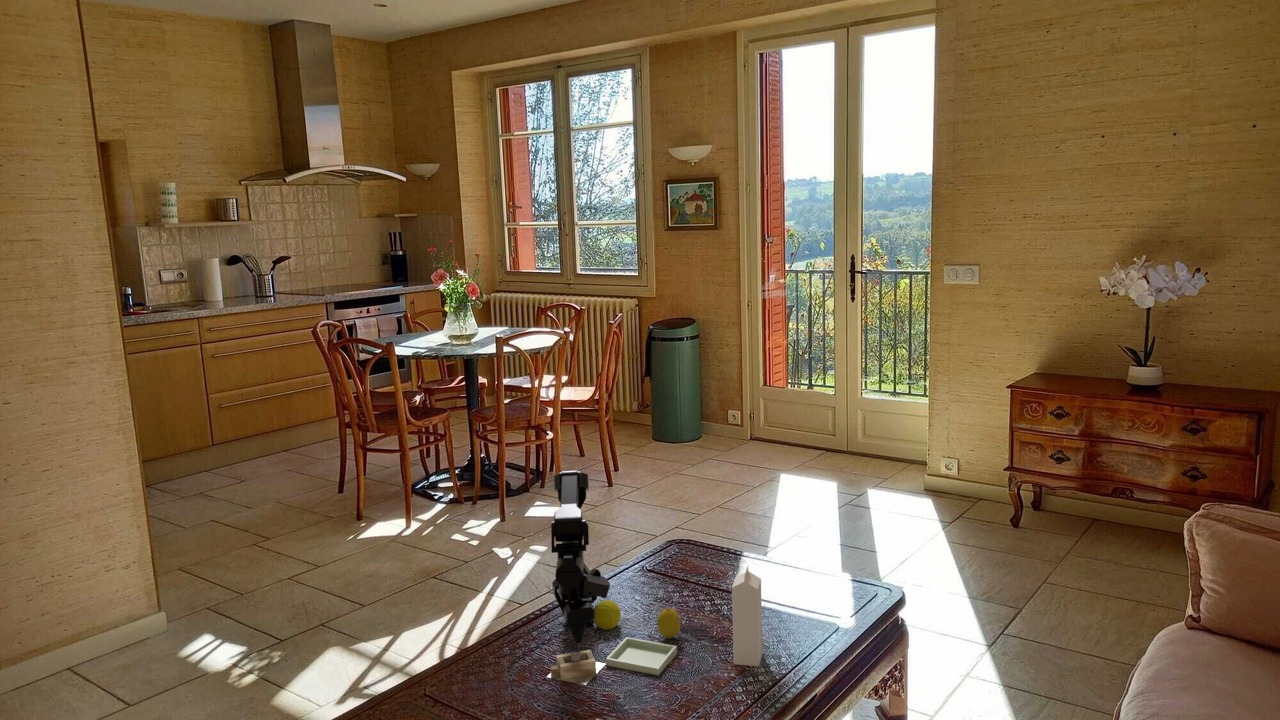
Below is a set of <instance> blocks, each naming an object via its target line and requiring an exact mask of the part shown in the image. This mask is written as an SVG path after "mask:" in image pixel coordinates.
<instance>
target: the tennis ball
mask: <svg viewBox="0 0 1280 720" xmlns="http://www.w3.org/2000/svg"><path fill="white" fill-rule="evenodd" d="M594 610H595V618H594V619H593V620H594V621H593V623H594V624H595V626H596V627H598V628H599V629H601V630H612V629H614V628H615V627H616V626H618V624H619V622H620V620H621V615H622V614H621V609H620V607H619V605H618V604H617V603H616V602H614V601H613V600H608V599H607V600H602V601H599V602H598V603H597V604H596V605H595V606H594Z"/></svg>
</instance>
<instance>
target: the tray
mask: <svg viewBox="0 0 1280 720" xmlns="http://www.w3.org/2000/svg"><path fill="white" fill-rule="evenodd" d="M677 654H678V646H677V645H673V644H667V643H662V642H657V641H650V640H645V639H638V638H633V637H629V636H626V637H625V638H624V639H623V640H622V641H621V642H620V643H619V644H618V645H617V646H616V647H615V648H614V650H613V651H612V652H611V653H610V654H609V655H608V656H607V657H606V658H605V665H606V666H608V667H612V668H617V669H623V670H629V671H633V672H638V673H643V674H648V675H653V676H660V674H661V673H662V672H663V671H664V670H665V668H666V667H667V666H668V665H669V664H671V663H672V661H673V659H675V657H676V656H677Z"/></svg>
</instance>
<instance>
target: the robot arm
mask: <svg viewBox="0 0 1280 720" xmlns="http://www.w3.org/2000/svg"><path fill="white" fill-rule="evenodd" d="M553 478H554V479H553V481H554V482H553V484H554V485H553V488H554V492H555V493H557V499H558V501H559V505H560V506H559V508H558V509H556V511H554V516H553V517H554V518H553V519H554V520H552V521H551V523H550V528H551V530H550V531H551V537H550V538H551V545H550V546H551V553H552V554H553V553H554V554H555V553H556V554H557V560H556V567H555V579H554V580H553V581H552V582H551V585H552V587H551V588H552V589H551V590H552V592H553V595H554V597H555V600H556V601H557V603H558V607H559V608H560V610H561V612H562V615H563V617H564V620H565V621H563V623H562V626H563V627H568V629H569V631H570V632H571V634H572V636H573V639H574V641H575V643H576V644H580V643H582V640H583V638H584V633H585V630H586V628H588V627H589V626H590V625H591V624H592V623H594V620H593V619H594V618H595V610H594V608H595V606H594V605H593V604H595V601H597V599H598V597H601V598H602V599H606V598H608V594H609V590H610V588H611V583H610V582H609V580H608V578H606V577H605V576H602V574H601V573H602V572H601V571H600V569H597V568H592V569H591V570H590V569H589V568H588V566H587V565H586V563H585V561H584V552H587V546H588V545H590V541H589V540H590V538H589V537H590V534H589V530H590V527H589V523H587V520H586V519H584V518H583V510H582V507H583V505H584V503H585V501H586V500H587V491H590V489H589V488H590V487H589V486H590V484H589V482H590V481H589V475H588V473H584V472H583V471H582V472H581V471H579V470H577V469H576V470H562V471H560V472H559V473H558V474H555V475H553ZM555 542H557V543H555Z"/></svg>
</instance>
